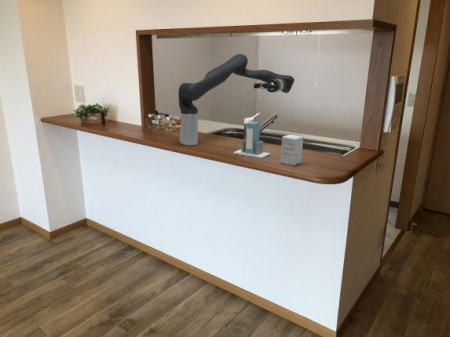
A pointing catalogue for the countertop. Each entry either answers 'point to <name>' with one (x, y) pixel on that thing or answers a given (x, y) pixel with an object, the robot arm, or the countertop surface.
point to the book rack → (258, 150)
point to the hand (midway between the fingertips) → (261, 86)
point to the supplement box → (291, 149)
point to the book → (252, 136)
